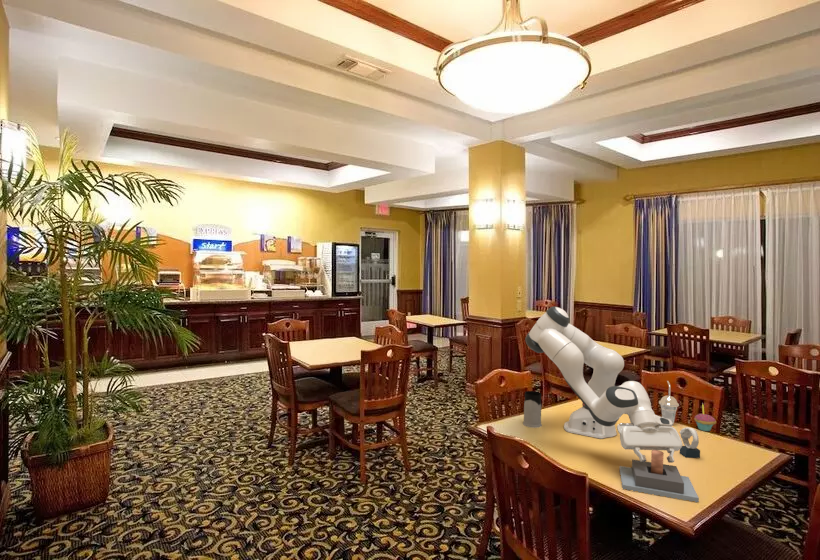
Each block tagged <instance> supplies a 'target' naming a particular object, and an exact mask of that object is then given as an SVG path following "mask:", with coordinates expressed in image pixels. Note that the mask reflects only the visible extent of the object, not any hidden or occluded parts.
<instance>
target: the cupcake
mask: <svg viewBox="0 0 820 560" xmlns="http://www.w3.org/2000/svg"><path fill="white" fill-rule="evenodd" d="M701 404H702V405H701V410H702V411H701V412H702V413H698V414H696V415H695V416H694V419H693V421H695V423H696V425H697V428H698V430H700V431H704V432H710V431H711V430H712V427H713V426H714V425H716V424H717V421H716V419H715V417H713V416H712V415H711V414H710V415H709V414H706V413H705V406H704V403H703V402H702V403H701Z"/></svg>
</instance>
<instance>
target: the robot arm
mask: <svg viewBox="0 0 820 560" xmlns="http://www.w3.org/2000/svg"><path fill="white" fill-rule="evenodd" d="M545 311H546V312H544V313H543V314H542V315H540V317H539V318H538V320H536V322H535V324H533V326H532V328H531V329H530V331H529V332H527V334H526V336H525V338H524V340H525V343H526V346H527V347H528V348H529V349H530V350H532V351H534V352H535V353H537V354H543V353H544V354H545V356H547V357H548V358H549V360H551V361H552V363H554V364H555V365H556V367H557V368H558V370H560V371H559V372H561V375H562V376H563V379H564V381H565V382H566V384H567V385H568V386H569V388H570V389H571V390H572V392H573V393H574V394H575V395H576V396H577V397H578V398H579V400H580V401H581V402H582V406H581V407H579V408H578V409H575V410H574V411H572V413H571V414H570V415H569V419H568V421H565V422H564V424H563V429H564V431H565V432H567V433H571V434H575V435H581V436H586V437H590V438H591V437H592V438H594V439H600V440H601V439H605V438H612V437H615V436H617V434H619V441H620V445H621V448H623V450H633V453H634V455H636V456H637V457H638V459H639V461H640V462H645V461H646V462H647V458H646V455H645V454H643V453H642V452H641V451H652V450H659V451H666V452H667V453H668V454H669V455H668V456H667V457H666V460H667V463H674V462H675V459H674V453H675V452H679V451H680V449H681V447H682V446H684V443H683V441H682V438H681V435H679V434H680V433H679V432H678V431H677V429H676V428H675V427H673V426H674V424H673V423H672V421H671V420H670V419H666V418H663V417H662V416H659V415H657V414H655V413H656V412H655V411H654V410H653V409H652V402H651V400H650V397H649V394H648V392H647V390H646V389H645V387H644V386H643V385H642V384H641V382H638V381H635V380H628V381H624V382H622V384H621V385H616V380H617V378H618V376H619V373H621V372H622V371H623V369H624V367H625V360H624V358H623V356H622V355H621V354H619V352H618V351H616V350H615V349H612V348H608V347H605V346H604V345H601V344H599V343H597V342H596V341H595V340H593V339H592V338H591V337H590V336H589V335H588V334H587V333H585V332H583V330H580V328H577V327H576V326H574V325H573V324H571V323H570V320H571V319H570V316H569V314H568V313H567V312H566V310H564V309H563V308H561V307H558V306H556V305H555V306H551V307H549V308H548V309H547V310H545ZM584 364H585V365H586V366H588V367H590V368H592V369H593V373H592V375H591V379H590V380H589V381H588V383H587V382H586V380H585V378H584ZM623 415H627V416H628V418H629V422H627V423H625V422H620V423H618V424H617V422H618V421H619V419H620V418H621V417H622V416H623ZM616 424H617V425H616ZM672 425H673V426H672Z"/></svg>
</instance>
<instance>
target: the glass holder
mask: <svg viewBox="0 0 820 560" xmlns="http://www.w3.org/2000/svg"><path fill="white" fill-rule="evenodd" d="M523 403H524V405H523V422H522V425H523V426H524V427H527V428H533V429H534V428H535V429H536V428H538V429H539V428H541V427H543V424H542V393H541V392H540V391H534V390H533V391H532V390H527V391H524V402H523Z"/></svg>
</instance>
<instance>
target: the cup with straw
mask: <svg viewBox="0 0 820 560" xmlns="http://www.w3.org/2000/svg"><path fill="white" fill-rule="evenodd" d="M666 382H667V385H668V395H665V396H662V397H661V399H660V400H658V404H659V405H660V409H661V417H663V418H666V419H670V420H671V421H672V423H673V425H672V427H673V426H674V424H675V419H676V412H677V410H678V407H680V403H678V401H677V399H676V398H675V397H674V396H671V383H670V382H669V380H666Z"/></svg>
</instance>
